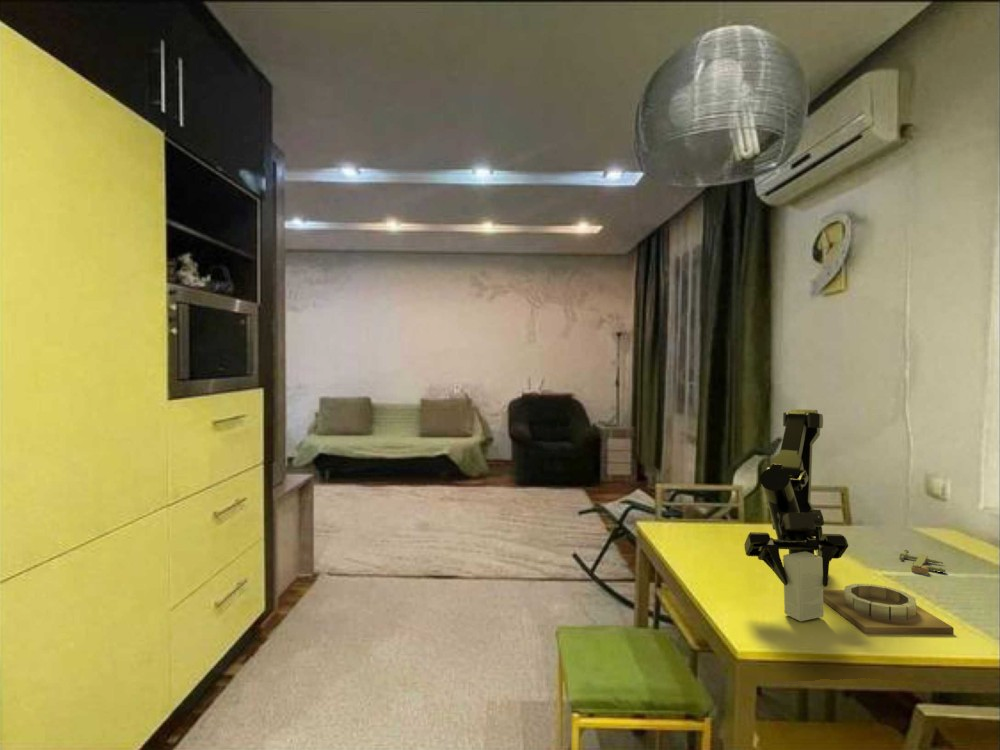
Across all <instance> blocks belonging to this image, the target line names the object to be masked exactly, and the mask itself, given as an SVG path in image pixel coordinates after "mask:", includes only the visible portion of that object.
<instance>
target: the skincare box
mask: <svg viewBox="0 0 1000 750" xmlns="http://www.w3.org/2000/svg"><path fill="white" fill-rule="evenodd" d="M782 558H783V559H782V561H783V562H782V563H783V567H784V570H785V573H786V577H787V582H788V584H787V585H784V584H783V599H784V600H783V601H784V607H783V608H784V614H785V615H787V616H789V617H791V618H793V619H794V620H797V621H799V622H805V621H808V620H809V621H810V620H814V619H819V618H824V613H825V612H824V601H823V590H824V585H823V561H822V557H820V556H817V554H815V553H814V554H812V553H809V552H806V551H805V552H800V553H793V554H789V553H788V554H783V557H782Z"/></svg>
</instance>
